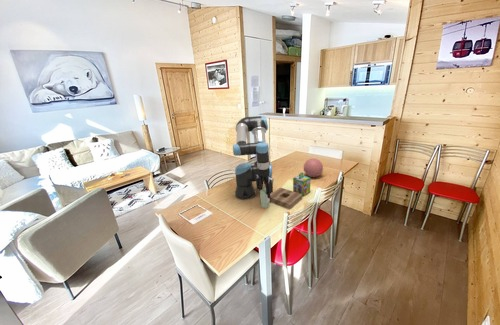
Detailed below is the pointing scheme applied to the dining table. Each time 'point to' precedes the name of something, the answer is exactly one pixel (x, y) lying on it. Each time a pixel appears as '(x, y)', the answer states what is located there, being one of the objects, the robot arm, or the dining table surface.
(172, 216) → the dining table surface
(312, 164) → the pink ball
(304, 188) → the chalk box
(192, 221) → the photo frame
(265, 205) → the peg
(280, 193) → the socket board
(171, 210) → the dining table surface
